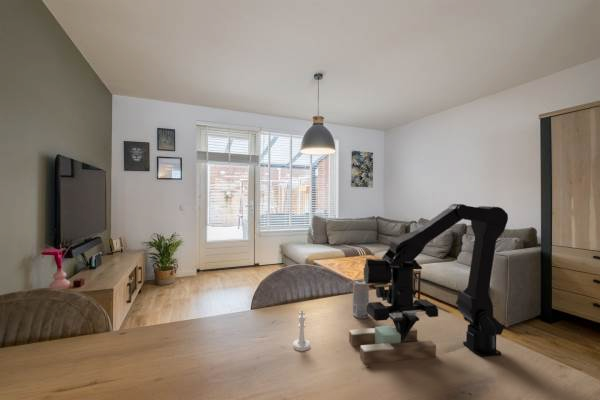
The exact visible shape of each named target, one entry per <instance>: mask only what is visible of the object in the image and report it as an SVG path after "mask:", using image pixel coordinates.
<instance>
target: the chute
mask: <svg viewBox="0 0 600 400" xmlns="http://www.w3.org/2000/svg"><path fill="white" fill-rule="evenodd" d="M393 328H394V329H395V330H396V327H393ZM396 331H397V330H396ZM348 343H350V345H351V346H352V347H354V346H356V347H358V346H359V349H360V350H359V359H360V360H361V362H362V364H364V365H365V364H366V365H367V364H376V363H385V362H397V361H408V360H417V359H418V360H419V359H428V358H429V359H430V358H436V357H437V345H436V344H435V343H433V341H432V340H424V341H423V340H422V341H418V330H417V328H415V327H414V326H413V327H412V328H411V329H410V331H409V333H408V334H407V336H406V338H405V340H404V341H401V343H397V344H389V343H384V344H375V327H374V328H373V327H372V328H356V329H349V330H348Z"/></svg>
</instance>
